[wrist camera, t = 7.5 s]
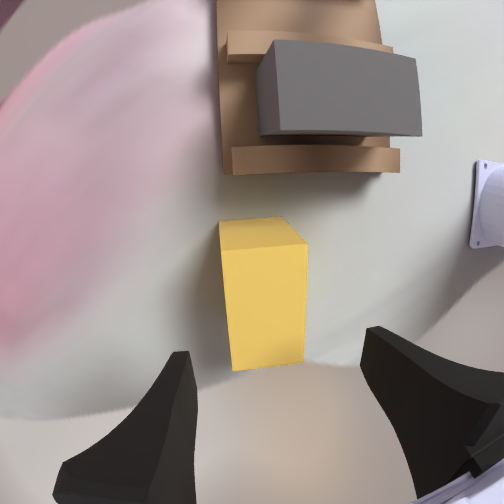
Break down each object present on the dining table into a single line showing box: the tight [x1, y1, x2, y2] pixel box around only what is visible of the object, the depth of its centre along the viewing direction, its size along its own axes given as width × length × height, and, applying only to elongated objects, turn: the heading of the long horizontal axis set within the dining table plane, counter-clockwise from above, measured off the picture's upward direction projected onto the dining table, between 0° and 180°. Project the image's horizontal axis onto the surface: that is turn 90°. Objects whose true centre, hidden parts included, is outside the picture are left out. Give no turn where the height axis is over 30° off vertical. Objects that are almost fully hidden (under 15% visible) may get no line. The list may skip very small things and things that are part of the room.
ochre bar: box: [219, 216, 308, 371], centre depth 18 cm, size 7×4×6 cm, turn 3°
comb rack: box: [216, 0, 400, 175], centre depth 15 cm, size 11×15×3 cm
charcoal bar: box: [255, 39, 422, 137], centre depth 14 cm, size 7×4×6 cm, turn 94°
